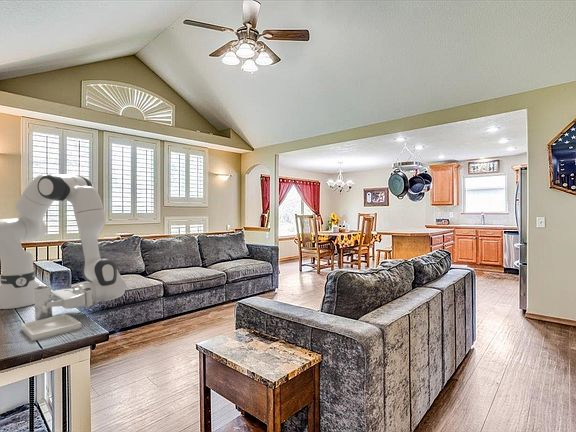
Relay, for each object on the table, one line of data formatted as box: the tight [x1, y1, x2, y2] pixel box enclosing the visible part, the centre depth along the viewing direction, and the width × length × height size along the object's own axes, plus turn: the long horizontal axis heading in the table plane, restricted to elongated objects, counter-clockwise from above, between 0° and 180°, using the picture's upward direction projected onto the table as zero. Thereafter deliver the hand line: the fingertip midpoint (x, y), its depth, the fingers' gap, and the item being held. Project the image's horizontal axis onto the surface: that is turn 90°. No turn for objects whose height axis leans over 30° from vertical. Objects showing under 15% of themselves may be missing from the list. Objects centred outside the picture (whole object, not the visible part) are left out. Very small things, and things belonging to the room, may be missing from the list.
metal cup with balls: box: [34, 284, 53, 321], centre depth 124 cm, size 5×5×14 cm
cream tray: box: [20, 313, 82, 342], centre depth 116 cm, size 16×14×2 cm
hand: (42, 302), depth 124 cm, fingers open, 8 cm apart
